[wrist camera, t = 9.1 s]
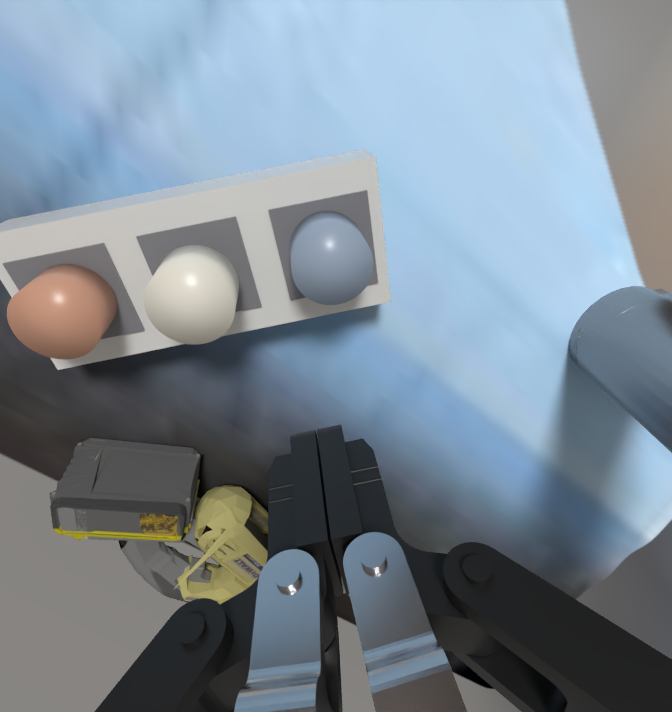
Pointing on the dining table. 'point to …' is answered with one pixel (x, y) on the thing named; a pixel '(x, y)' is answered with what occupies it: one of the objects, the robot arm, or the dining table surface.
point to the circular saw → (163, 517)
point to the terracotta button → (63, 311)
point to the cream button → (192, 295)
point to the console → (203, 243)
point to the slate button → (330, 258)
